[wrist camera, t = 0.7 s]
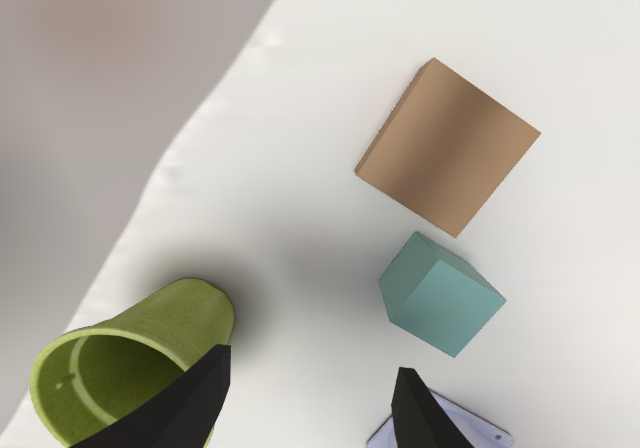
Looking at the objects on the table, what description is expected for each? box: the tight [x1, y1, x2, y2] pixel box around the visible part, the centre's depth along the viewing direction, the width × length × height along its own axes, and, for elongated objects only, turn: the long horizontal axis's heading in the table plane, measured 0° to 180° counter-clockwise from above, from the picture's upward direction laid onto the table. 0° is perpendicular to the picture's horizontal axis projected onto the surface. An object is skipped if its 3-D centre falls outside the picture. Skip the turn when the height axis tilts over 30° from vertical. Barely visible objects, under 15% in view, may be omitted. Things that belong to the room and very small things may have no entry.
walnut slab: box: [355, 58, 541, 238], centre depth 18 cm, size 7×7×3 cm
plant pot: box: [29, 278, 234, 448], centre depth 19 cm, size 9×9×9 cm
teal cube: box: [379, 231, 507, 358], centre depth 19 cm, size 4×4×5 cm
